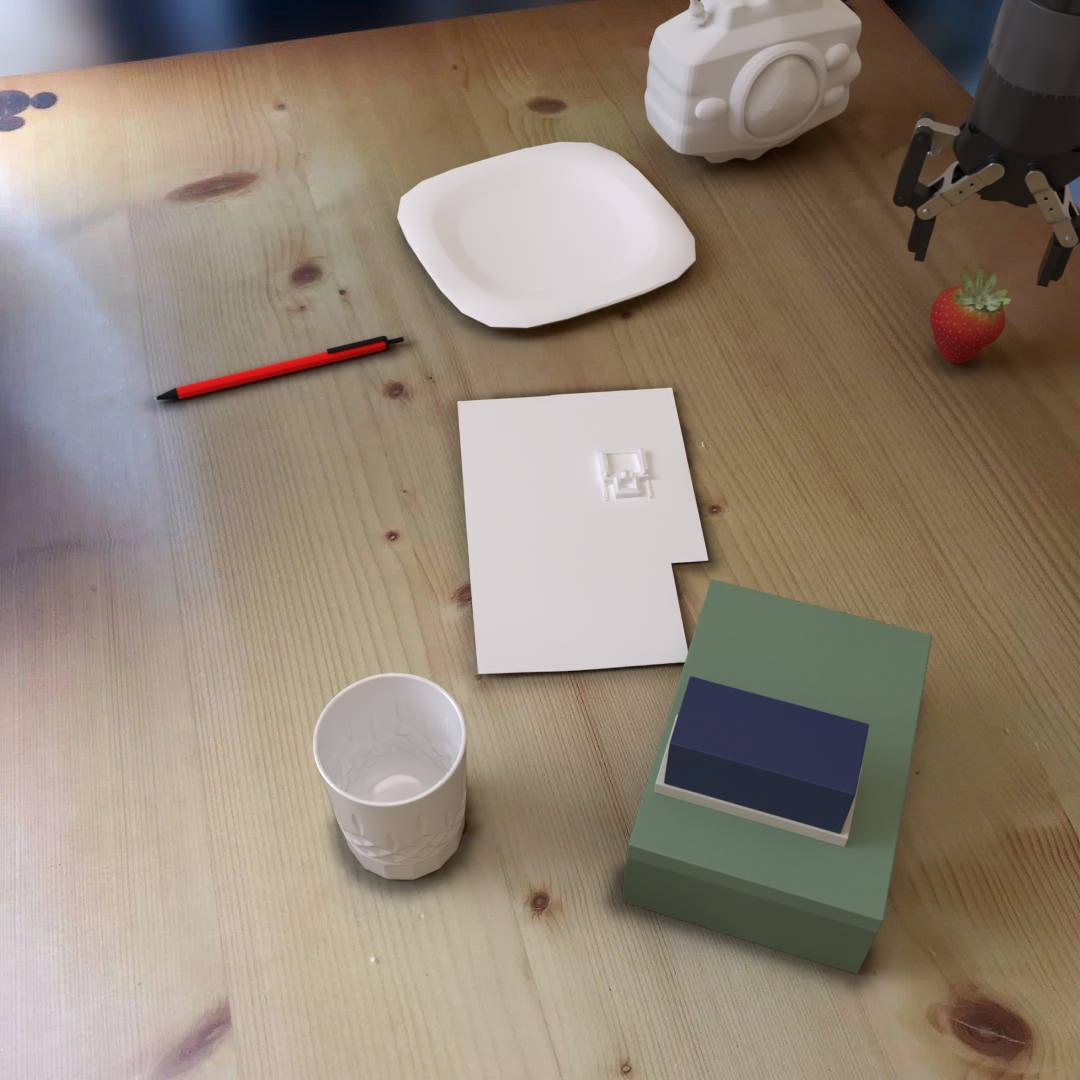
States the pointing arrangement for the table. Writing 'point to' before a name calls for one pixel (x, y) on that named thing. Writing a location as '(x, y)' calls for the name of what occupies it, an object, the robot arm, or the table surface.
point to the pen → (282, 367)
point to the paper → (577, 529)
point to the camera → (749, 74)
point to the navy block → (764, 760)
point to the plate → (544, 235)
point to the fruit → (968, 317)
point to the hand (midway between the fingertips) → (980, 267)
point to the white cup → (395, 772)
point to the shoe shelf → (768, 852)
